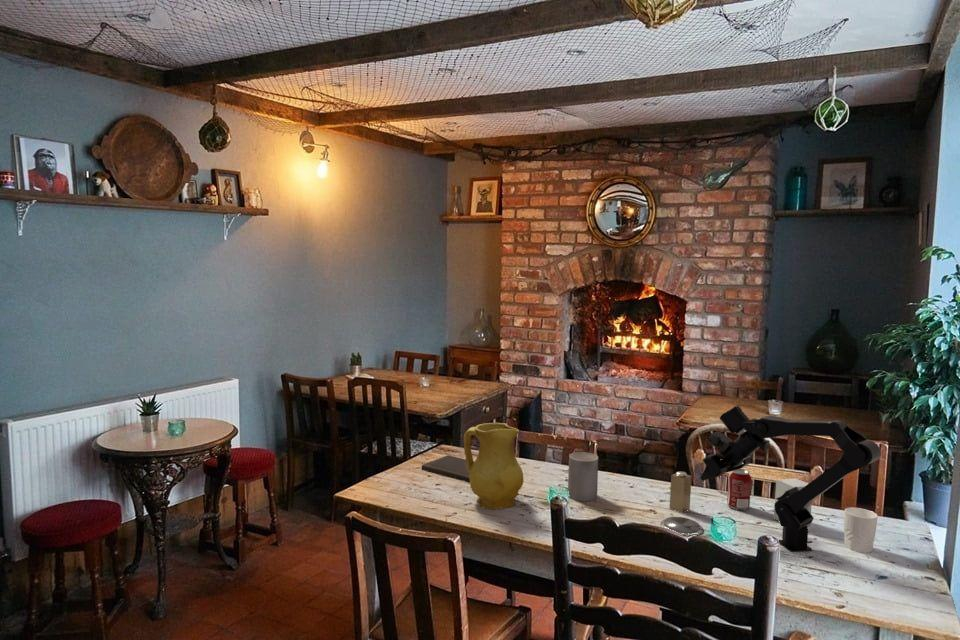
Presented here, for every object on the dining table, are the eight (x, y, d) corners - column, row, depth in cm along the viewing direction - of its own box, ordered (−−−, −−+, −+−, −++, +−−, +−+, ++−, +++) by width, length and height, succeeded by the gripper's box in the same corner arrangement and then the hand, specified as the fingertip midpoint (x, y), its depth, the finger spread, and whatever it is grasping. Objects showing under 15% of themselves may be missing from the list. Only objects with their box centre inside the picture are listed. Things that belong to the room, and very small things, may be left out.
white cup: (844, 539, 182) (847, 505, 182) (876, 547, 177) (879, 512, 177) (839, 547, 176) (842, 513, 175) (872, 556, 171) (875, 520, 171)
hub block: (689, 509, 202) (691, 473, 201) (682, 513, 199) (684, 476, 198) (676, 505, 205) (678, 469, 204) (669, 508, 202) (671, 472, 201)
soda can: (751, 512, 201) (753, 475, 200) (728, 510, 202) (731, 473, 201) (746, 504, 208) (749, 468, 207) (725, 502, 209) (727, 466, 208)
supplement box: (790, 528, 189) (793, 487, 188) (772, 518, 196) (775, 478, 195) (810, 526, 191) (813, 485, 190) (792, 516, 198) (795, 477, 197)
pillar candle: (574, 489, 218) (575, 446, 216) (601, 494, 213) (602, 451, 211) (562, 498, 209) (564, 453, 208) (590, 504, 204) (592, 458, 203)
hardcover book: (448, 460, 248) (448, 455, 247) (497, 473, 234) (497, 467, 234) (421, 470, 235) (421, 464, 234) (471, 484, 221) (471, 478, 221)
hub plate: (710, 535, 182) (710, 531, 182) (671, 536, 181) (671, 532, 181) (691, 518, 194) (691, 515, 194) (653, 520, 193) (654, 516, 192)
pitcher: (493, 515, 192) (494, 433, 191) (456, 500, 206) (457, 423, 205) (534, 505, 202) (535, 426, 202) (495, 491, 217) (497, 418, 216)
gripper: (740, 420, 197) (708, 449, 205) (709, 429, 185) (675, 459, 193) (766, 450, 191) (731, 478, 200) (735, 461, 179) (699, 491, 188)
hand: (709, 476), depth 195 cm, fingers open, 9 cm apart
